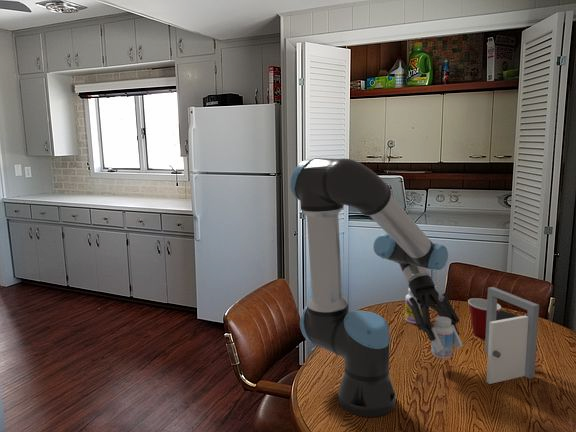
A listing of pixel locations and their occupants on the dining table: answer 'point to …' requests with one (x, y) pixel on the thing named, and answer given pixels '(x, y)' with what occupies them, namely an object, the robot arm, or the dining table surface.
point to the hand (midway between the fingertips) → (449, 348)
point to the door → (507, 349)
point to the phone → (504, 315)
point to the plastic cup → (479, 316)
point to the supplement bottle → (408, 312)
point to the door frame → (532, 323)
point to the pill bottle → (443, 337)
